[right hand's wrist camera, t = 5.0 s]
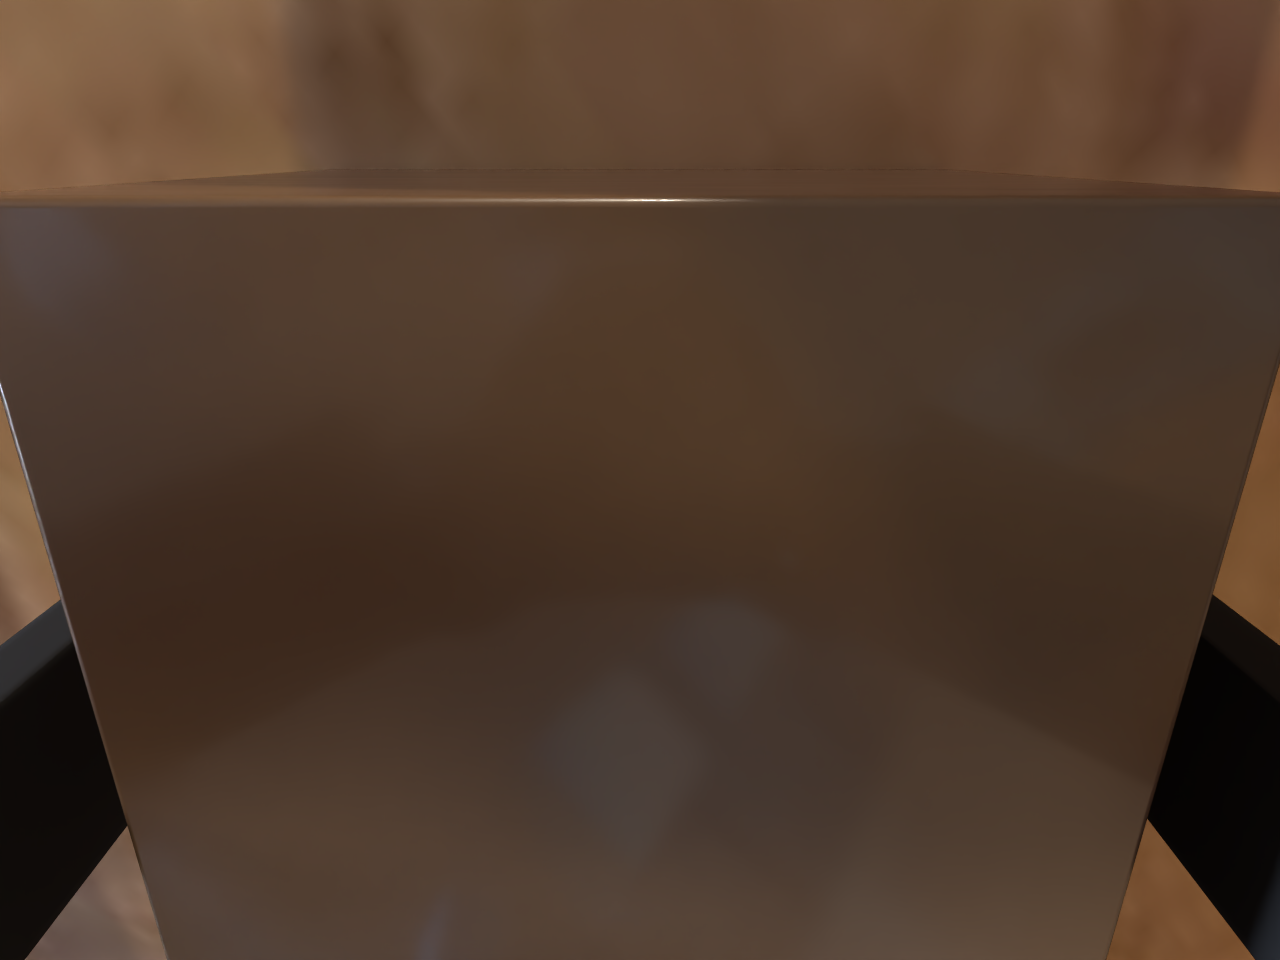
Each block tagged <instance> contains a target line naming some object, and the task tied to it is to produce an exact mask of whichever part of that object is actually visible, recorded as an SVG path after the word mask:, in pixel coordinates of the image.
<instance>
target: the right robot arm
mask: <svg viewBox="0 0 1280 960" xmlns="http://www.w3.org/2000/svg"><path fill="white" fill-rule="evenodd" d="M1147 819H1148V820H1149V821H1150V823H1151V824H1152V825H1153V827H1154V828H1155V829H1156V831H1157V832H1158V833H1159V834H1160V836H1161V837H1162V838H1163V840H1164V841H1165V842H1166V844H1167V845H1168V846H1169V847H1170V849H1171V850H1172V851H1173V853H1174V854H1175V855H1176V857H1177V858H1178V859H1179V861H1180V862H1181V863H1182V864H1183V866H1184V867H1185V868H1186V870H1187V871H1188V872H1189V874H1190V875H1191V876H1192V878H1193V879H1194V880H1195V881H1196V883H1197V884H1198V885H1199V887H1200V888H1201V889H1202V891H1203V892H1204V893H1205V895H1206V896H1207V897H1208V898H1209V900H1210V901H1211V902H1212V904H1213V905H1214V906H1215V908H1216V909H1217V910H1218V911H1219V913H1220V914H1221V915H1222V917H1223V918H1224V919H1225V921H1226V922H1227V923H1228V925H1229V926H1230V927H1231V928H1232V930H1233V931H1234V932H1235V934H1236V935H1237V936H1238V938H1239V939H1240V940H1241V942H1242V943H1243V944H1244V945H1245V947H1246V948H1247V949H1248V951H1249V952H1250V953H1251V955H1252V956H1253V957H1254V959H1255V960H1280V646H1279V645H1278V644H1277V643H1275V642H1274V641H1273V640H1272V639H1270V638H1269V637H1268V636H1266V635H1265V634H1264V633H1262V632H1261V631H1260V630H1258V629H1257V628H1256V627H1255V626H1253V625H1252V624H1251V623H1249V622H1248V621H1247V620H1245V619H1244V618H1243V617H1242V616H1240V615H1239V614H1238V613H1236V612H1235V611H1234V610H1232V609H1231V608H1230V607H1228V606H1227V605H1226V604H1225V603H1223V602H1222V601H1221V600H1219V599H1218V598H1217V597H1215V596H1214V595H1213V594H1212V598H1211V601H1210V605H1209V608H1208V611H1207V615H1206V618H1205V622H1204V625H1203V629H1202V632H1201V636H1200V639H1199V642H1198V646H1197V649H1196V653H1195V656H1194V660H1193V663H1192V666H1191V670H1190V673H1189V677H1188V680H1187V684H1186V687H1185V690H1184V694H1183V697H1182V701H1181V704H1180V708H1179V711H1178V714H1177V718H1176V721H1175V725H1174V728H1173V732H1172V735H1171V739H1170V742H1169V745H1168V749H1167V752H1166V756H1165V759H1164V763H1163V766H1162V769H1161V773H1160V776H1159V780H1158V783H1157V787H1156V790H1155V793H1154V797H1153V800H1152V804H1151V807H1150V811H1149V814H1148V817H1147ZM126 827H127V822H126V819H125V815H124V812H123V809H122V805H121V802H120V798H119V795H118V792H117V788H116V785H115V782H114V778H113V775H112V771H111V768H110V765H109V761H108V758H107V754H106V751H105V748H104V744H103V741H102V738H101V734H100V731H99V727H98V724H97V721H96V717H95V714H94V710H93V707H92V704H91V700H90V697H89V694H88V690H87V687H86V683H85V680H84V677H83V673H82V670H81V666H80V663H79V660H78V656H77V653H76V650H75V646H74V643H73V639H72V636H71V633H70V629H69V626H68V622H67V619H66V616H65V612H64V609H63V606H62V602H61V600H59V601H58V602H57V603H55V604H54V605H53V606H52V607H50V608H49V609H48V610H46V611H45V612H44V613H42V614H41V615H40V616H38V617H37V618H36V619H35V620H33V621H32V622H31V623H29V624H28V625H27V626H25V627H24V628H23V629H22V630H20V631H19V632H18V633H16V634H15V635H14V636H12V637H11V638H10V639H8V640H7V641H6V642H5V643H3V644H2V645H1V646H0V960H25V959H26V957H27V956H28V955H29V953H30V952H31V951H32V949H33V948H34V947H35V945H36V944H37V943H38V942H39V940H40V939H41V938H42V936H43V935H44V934H45V932H46V931H47V930H48V928H49V927H50V926H51V925H52V923H53V922H54V921H55V919H56V918H57V917H58V915H59V914H60V913H61V911H62V910H63V909H64V908H65V906H66V905H67V904H68V902H69V901H70V900H71V898H72V897H73V896H74V895H75V893H76V892H77V891H78V889H79V888H80V887H81V885H82V884H83V883H84V881H85V880H86V879H87V878H88V876H89V875H90V874H91V872H92V871H93V870H94V868H95V867H96V866H97V864H98V863H99V862H100V861H101V859H102V858H103V857H104V855H105V854H106V853H107V851H108V850H109V849H110V847H111V846H112V845H113V844H114V842H115V841H116V840H117V838H118V837H119V836H120V834H121V833H122V832H123V831H124V829H125V828H126Z"/></svg>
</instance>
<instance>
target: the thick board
mask: <svg viewBox="0 0 1280 960" xmlns="http://www.w3.org/2000/svg"><path fill="white" fill-rule="evenodd" d="M1279 364H1280V193H1279V192H1265V191H1250V190H1236V189H1221V188H1206V187H1192V186H1177V185H1162V184H1148V183H1133V182H1119V181H1104V180H1089V179H1075V178H1060V177H1045V176H1031V175H1016V174H1002V173H987V172H972V171H958V170H316V171H302V172H287V173H272V174H258V175H243V176H228V177H214V178H199V179H185V180H170V181H155V182H141V183H126V184H111V185H97V186H82V187H68V188H53V189H38V190H24V191H9V192H0V396H1V399H2V402H3V406H4V409H5V413H6V416H7V419H8V423H9V426H10V430H11V433H12V436H13V440H14V443H15V446H16V450H17V453H18V457H19V460H20V463H21V467H22V470H23V474H24V477H25V480H26V484H27V487H28V490H29V494H30V497H31V501H32V504H33V507H34V511H35V514H36V518H37V521H38V524H39V528H40V531H41V534H42V538H43V541H44V545H45V548H46V551H47V555H48V558H49V562H50V565H51V568H52V572H53V575H54V578H55V582H56V585H57V589H58V592H59V595H60V599H61V602H62V606H63V609H64V612H65V616H66V619H67V622H68V626H69V629H70V633H71V636H72V639H73V643H74V646H75V650H76V653H77V656H78V660H79V663H80V666H81V670H82V673H83V677H84V680H85V683H86V687H87V690H88V694H89V697H90V700H91V704H92V707H93V710H94V714H95V717H96V721H97V724H98V727H99V731H100V734H101V738H102V741H103V744H104V748H105V751H106V754H107V758H108V761H109V765H110V768H111V771H112V775H113V778H114V782H115V785H116V788H117V792H118V795H119V798H120V802H121V805H122V809H123V812H124V815H125V819H126V822H127V825H128V829H129V832H130V836H131V839H132V842H133V846H134V849H135V853H136V856H137V859H138V863H139V866H140V869H141V873H142V876H143V880H144V883H145V886H146V890H147V893H148V897H149V900H150V903H151V907H152V910H153V913H154V917H155V920H156V924H157V927H158V930H159V934H160V937H161V941H162V944H163V947H164V951H165V954H166V957H167V960H1106V958H1107V955H1108V951H1109V948H1110V945H1111V941H1112V938H1113V934H1114V931H1115V927H1116V924H1117V921H1118V917H1119V914H1120V910H1121V907H1122V903H1123V900H1124V896H1125V893H1126V890H1127V886H1128V883H1129V879H1130V876H1131V872H1132V869H1133V866H1134V862H1135V859H1136V855H1137V852H1138V848H1139V845H1140V842H1141V838H1142V835H1143V831H1144V828H1145V824H1146V821H1147V817H1148V814H1149V811H1150V807H1151V804H1152V800H1153V797H1154V793H1155V790H1156V787H1157V783H1158V780H1159V776H1160V773H1161V769H1162V766H1163V763H1164V759H1165V756H1166V752H1167V749H1168V745H1169V742H1170V739H1171V735H1172V732H1173V728H1174V725H1175V721H1176V718H1177V714H1178V711H1179V708H1180V704H1181V701H1182V697H1183V694H1184V690H1185V687H1186V684H1187V680H1188V677H1189V673H1190V670H1191V666H1192V663H1193V660H1194V656H1195V653H1196V649H1197V646H1198V642H1199V639H1200V636H1201V632H1202V629H1203V625H1204V622H1205V618H1206V615H1207V611H1208V608H1209V605H1210V601H1211V598H1212V594H1213V591H1214V587H1215V584H1216V581H1217V577H1218V574H1219V570H1220V567H1221V563H1222V560H1223V557H1224V553H1225V550H1226V546H1227V543H1228V539H1229V536H1230V532H1231V529H1232V526H1233V522H1234V519H1235V515H1236V512H1237V508H1238V505H1239V502H1240V498H1241V495H1242V491H1243V488H1244V484H1245V481H1246V478H1247V474H1248V471H1249V467H1250V464H1251V460H1252V457H1253V454H1254V450H1255V447H1256V443H1257V440H1258V436H1259V433H1260V429H1261V426H1262V423H1263V419H1264V416H1265V412H1266V409H1267V405H1268V402H1269V399H1270V395H1271V392H1272V388H1273V385H1274V381H1275V378H1276V375H1277V371H1278V368H1279Z"/></svg>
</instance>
